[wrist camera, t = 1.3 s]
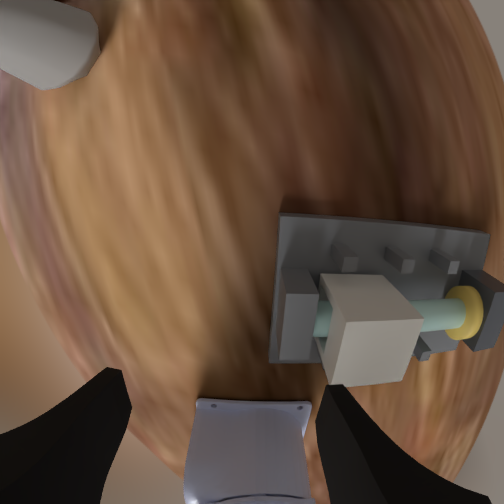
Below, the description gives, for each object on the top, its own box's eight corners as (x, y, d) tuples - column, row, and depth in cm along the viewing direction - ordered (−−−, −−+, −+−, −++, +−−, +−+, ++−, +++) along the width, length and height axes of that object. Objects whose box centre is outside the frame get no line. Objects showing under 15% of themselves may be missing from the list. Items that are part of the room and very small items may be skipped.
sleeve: (312, 329, 18) (330, 387, 13) (320, 273, 17) (346, 321, 11) (370, 328, 18) (401, 380, 13) (382, 274, 17) (424, 318, 11)
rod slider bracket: (268, 352, 20) (271, 404, 15) (278, 212, 17) (288, 234, 12) (449, 342, 20) (478, 377, 15) (480, 230, 17) (525, 250, 12)
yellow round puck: (436, 323, 18) (461, 350, 14) (450, 277, 17) (480, 300, 13) (446, 322, 18) (471, 348, 14) (460, 277, 17) (489, 299, 13)
